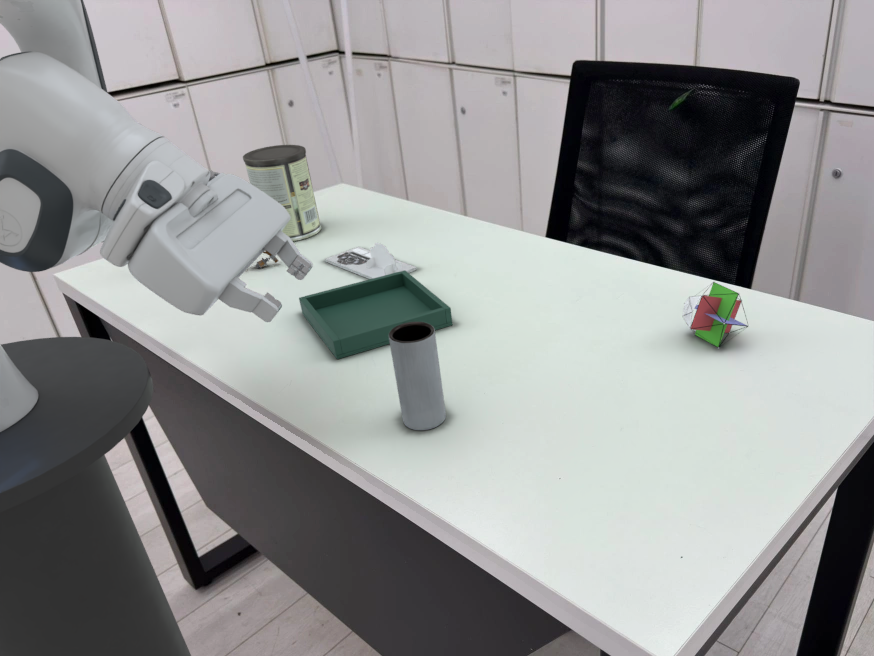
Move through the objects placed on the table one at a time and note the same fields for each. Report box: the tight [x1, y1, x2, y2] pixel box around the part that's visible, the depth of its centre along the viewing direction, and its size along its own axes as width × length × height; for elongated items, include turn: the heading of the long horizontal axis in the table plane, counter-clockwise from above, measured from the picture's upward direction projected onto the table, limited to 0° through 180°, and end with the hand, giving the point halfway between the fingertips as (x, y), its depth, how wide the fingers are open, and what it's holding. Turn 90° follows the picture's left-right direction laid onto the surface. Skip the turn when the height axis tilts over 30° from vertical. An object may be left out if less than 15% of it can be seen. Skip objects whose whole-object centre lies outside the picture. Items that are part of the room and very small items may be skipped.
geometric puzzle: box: [682, 280, 750, 349], centre depth 87 cm, size 7×7×8 cm
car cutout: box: [324, 242, 418, 280], centre depth 115 cm, size 15×7×4 cm, turn 46°
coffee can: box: [242, 144, 322, 242], centre depth 129 cm, size 10×10×14 cm
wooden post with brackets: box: [255, 250, 279, 269], centre depth 118 cm, size 2×8×4 cm, turn 108°
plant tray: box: [298, 270, 453, 360], centre depth 99 cm, size 16×16×2 cm
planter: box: [389, 322, 447, 431], centre depth 75 cm, size 4×4×10 cm
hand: (293, 292), depth 72 cm, fingers open, 8 cm apart
